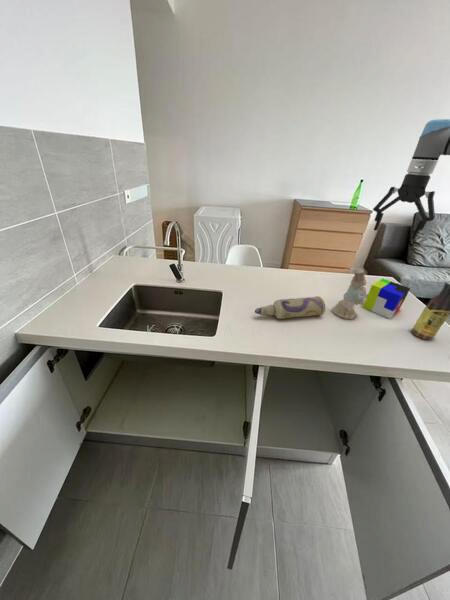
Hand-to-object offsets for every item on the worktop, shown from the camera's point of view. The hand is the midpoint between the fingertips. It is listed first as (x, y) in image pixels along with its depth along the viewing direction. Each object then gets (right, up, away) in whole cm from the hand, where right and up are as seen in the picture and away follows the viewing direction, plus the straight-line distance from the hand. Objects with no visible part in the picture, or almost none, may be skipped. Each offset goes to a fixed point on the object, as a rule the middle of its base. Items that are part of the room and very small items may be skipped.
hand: (393, 233), depth 97 cm
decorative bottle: (-44, -32, -6) cm, 54 cm away
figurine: (-22, -32, -4) cm, 39 cm away
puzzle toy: (-5, -30, +1) cm, 30 cm away
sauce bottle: (+1, -39, -13) cm, 41 cm away
